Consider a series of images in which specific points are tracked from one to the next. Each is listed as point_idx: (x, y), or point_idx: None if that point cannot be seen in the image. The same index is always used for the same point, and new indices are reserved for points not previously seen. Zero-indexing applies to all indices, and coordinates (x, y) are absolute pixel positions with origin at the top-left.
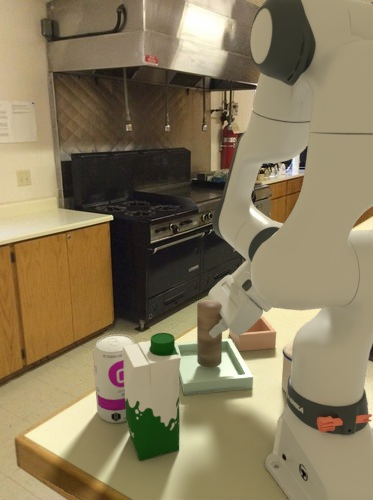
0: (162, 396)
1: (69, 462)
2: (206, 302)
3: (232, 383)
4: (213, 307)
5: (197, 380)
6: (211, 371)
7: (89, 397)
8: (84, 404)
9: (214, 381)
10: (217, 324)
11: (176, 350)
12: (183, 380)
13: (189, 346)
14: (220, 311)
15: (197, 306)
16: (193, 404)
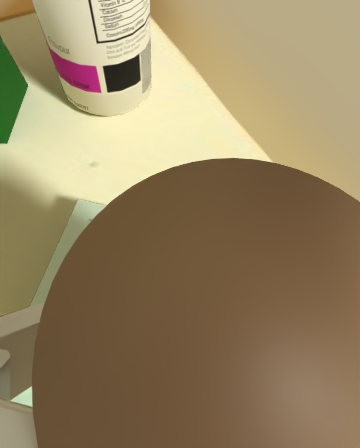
0: None
1: (28, 13)
2: (354, 319)
3: None
4: (113, 331)
5: (70, 242)
6: None
7: (181, 63)
8: (162, 53)
9: (35, 293)
10: (15, 326)
11: None
12: (95, 205)
13: None
14: (30, 432)
15: (272, 172)
16: (38, 223)
